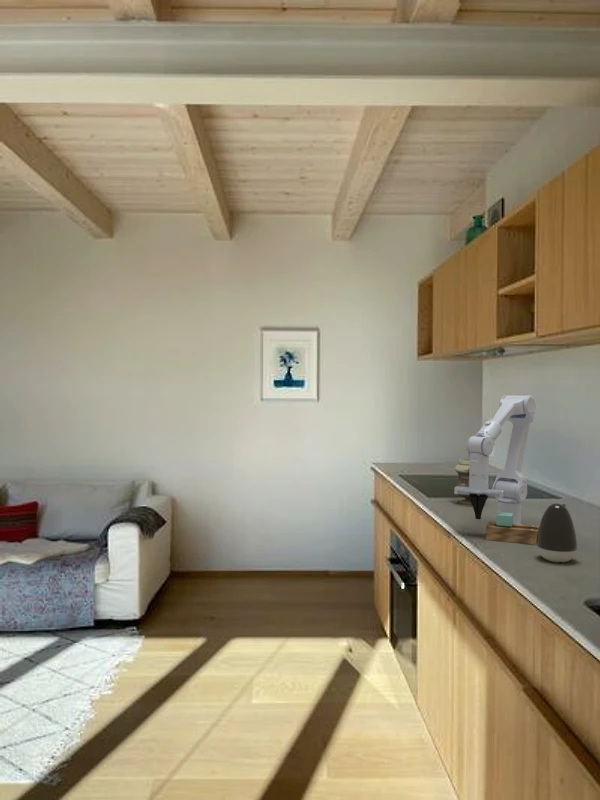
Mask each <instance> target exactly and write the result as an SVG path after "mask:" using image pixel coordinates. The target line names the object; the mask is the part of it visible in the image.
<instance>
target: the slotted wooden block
mask: <svg viewBox="0 0 600 800" xmlns="http://www.w3.org/2000/svg"><path fill="white" fill-rule="evenodd" d="M538 529H539V525H535V524H532V525H531V524H523V525H522V523H521V524H512V527H503V526H497V525H496V521H488V523H487V524H486V528H485V540H486V541H494V542H495V541H496V542H503V541H504V542H505V543H513V544H514V543H515V544H525V545H535V546H537V545H536V540H537V534H538ZM504 542H503V543H504Z"/></svg>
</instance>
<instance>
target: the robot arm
mask: <svg viewBox="0 0 600 800" xmlns="http://www.w3.org/2000/svg"><path fill="white" fill-rule="evenodd" d="M536 406H537V405H536V402H535V399H534V397H533V396H532V395H529V394H528V395H511V394H510V395H509V394H504V395H503V396H502V397H501V399H500V400H499V408H498V410H497V411H496V413H495V415H494V416H493V417H492V419H491V420H487V421H485V422H484V424H483V425H482V426H481V428H480V429H479V430H478V431H477V433H476V434H475V435H472V436H470V437H469V438H468V439H467V440H466V443H465V444H466V445H465V451H466V452H467V458H468V459H469V460H470V468H469V487H456V486H455V487H454V490H453V491H454V495H458V494H467V495H469V499H470V501H471V504H472V506H471V507H472V509H473V512H474V517H475V520H481V519H482V515H483V513H482V512H483V509H484V507H485V504H486V502H487V500H488V499H489V497H494V498H495V500H496V501H497V513H498V512H503V513H513V524H522V522H521V521H522V519H521V518H522V515H521V513H522V503H524V501H525V499H526V498H527V496H528V480H527V479H526V477H525V476H524V475H523V474H522V473H521V472H522V469H523V468H522V467H523V463H524V462H523V461H524V459H525V458H524V457H525V454H526V453H525V452H526V447H527V441H528V437H529V431H530V425H531V423H533V422H534V418H535V414H536V412H535V411H536ZM507 421H509V422H510V423H511V424H512V430H511V434H510V439H509V444H508V449H507V455H506V460H505V465H504V470H502V471H500V472H499V473H497V474H496V477H495V480H494V482H493V484H492V488H489V477H490V476H489V475H490V474H489V471H490V470H489V466H490V463H489V462H490V459H489V457H490V455H491V454H492V453H493V450H494V446H495V442H496V440H497V439H498V438H499V436H500V435H501V434H502V427H503V426H504V424H506V422H507ZM479 493H485V494H479ZM479 495H480V496H479ZM522 525H524V524H522Z"/></svg>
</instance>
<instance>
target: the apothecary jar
mask: <svg viewBox="0 0 600 800" xmlns="http://www.w3.org/2000/svg"><path fill="white" fill-rule="evenodd" d="M458 461H459V462H458V464H456V465H455V468H454V470H455V472H456V473H457V485H456V486H455V487H469V468H470V460H469V459H468V457H467V458H459V460H458ZM479 494H485V493H479ZM457 496H460V497H462V498H464V499H461V500H459V501H457V503H458V504H457V505H459V504H460V506H463V505H465V507H473V506H472V504H471V501H470V499H469V495H467V494H457ZM479 496H480V495H479Z"/></svg>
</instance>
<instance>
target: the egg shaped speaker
mask: <svg viewBox="0 0 600 800" xmlns="http://www.w3.org/2000/svg"><path fill="white" fill-rule="evenodd" d="M538 526H539V529H538V534H537V540H536V545H535V546H537V550H538V553H539V554H540V555H541V558H543V559H544V560H547V561H548V562H552V563H559V562H562V563H567V562H570V561H571V560H572V559H573V558H574V557H575V555H576V552H577V550H578V548H579V547H578V539H577V533H576V528H575V524H574V521H573V518H572V516H571V513H570V512H569V510H568V508H567V507H566V504H564V503H551V504H550V505H549V506H547V507H546V509H545V511H544V512H543V515H542V517H541V520H540V523H539V525H538Z"/></svg>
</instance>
